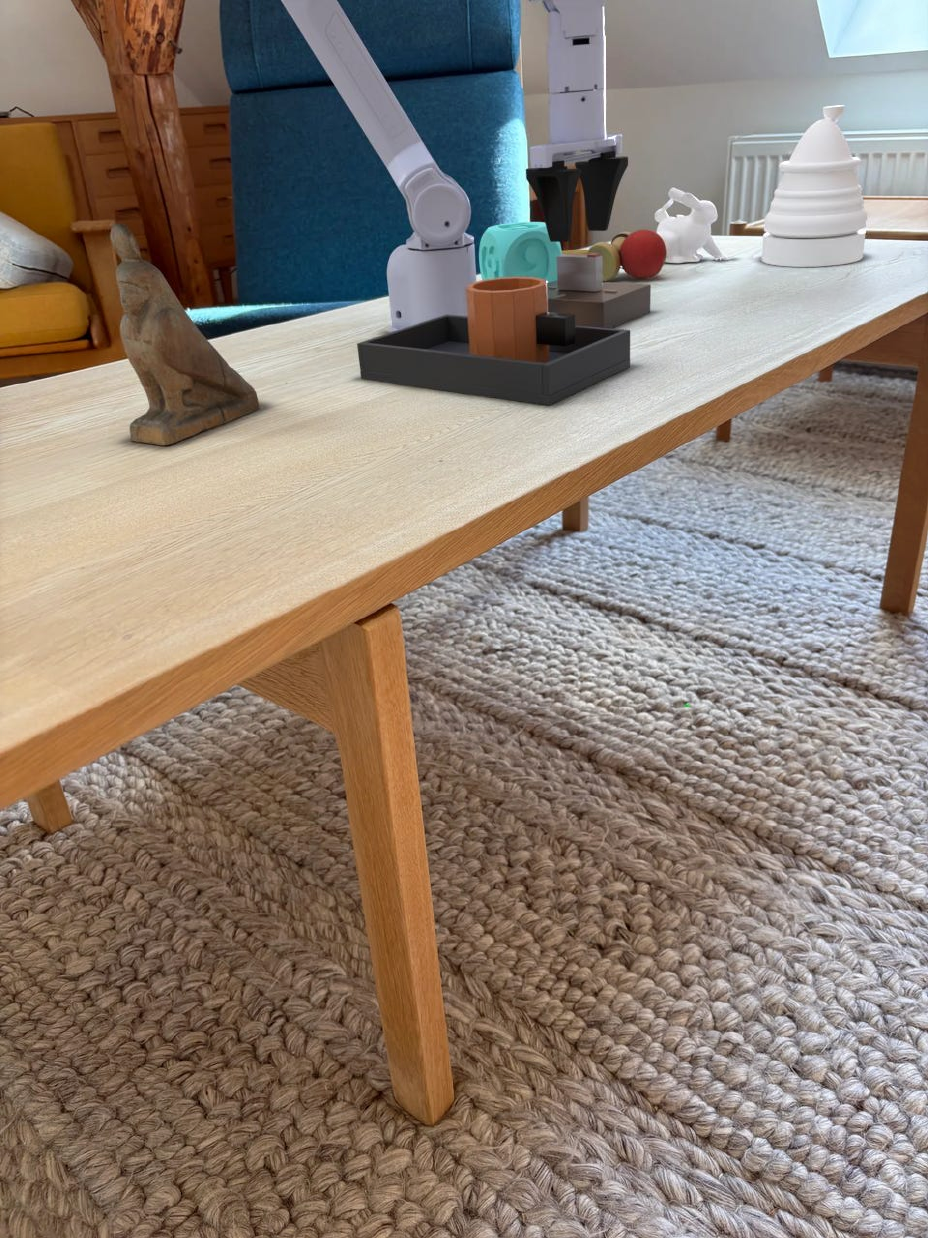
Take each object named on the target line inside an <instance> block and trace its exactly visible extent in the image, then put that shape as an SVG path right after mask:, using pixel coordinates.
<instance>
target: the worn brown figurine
mask: <svg viewBox="0 0 928 1238" xmlns="http://www.w3.org/2000/svg"><path fill="white" fill-rule="evenodd" d="M110 230H111V231H110V235H109V236H110V241H111V245H112V246H113V247H112V248H113V249H114V251H115V253H116V254H117V256H118V257H119V259H120V263H119V264H118V265H117V267H116V269H115V281H116V284H117V289H118V291H119V300H120V304H121V306H122V308H123V311H124V313H123V314H122V316H121V319H120V324H119V334H120V335H119V336H120V339H121V343H122V346H123V349H124V352H125V355H126V357H127V360H128V362H129V364H130V365H131V367H132V368H133V370H134V371H135V373H136V375H137V378H138V379H139V382H140V385H141V386H142V387H143V390H144V393H145V395H146V398H147V402H148V405H149V407H148V410H147V411H146V412H145V413H144V414H143V415H141V416H140V417H137V418H135V419H134V420H133V421H132V422H131V423H130V424H129V433H130V434H129V435H130V442H135V443H136V442H137V443H144V444H148V445H149V444H151V445H157V446H169V445H173V444H174V443H175V444H176V443H177V442H181V441H183V440H185V439H188V438H191V437H193V436H195V435H199V434H200V433H201V432H203V431H208V430H210V429H212V428H213V429H214V428H215V427H218V426H221V425H223V424H227V423H230V422H231V421H232V420H235V419H239V418H240V417H241V418H242V416H245V415H249V414H251V413H253V412H254V411H256V410H259V408H260V402H259V397H258V393H257V391H256V390H255V387H253V386H252V384H250V383H249V382H248V381H246V379H245V378H244V377H243V376H242V375H241V374H239V372H238V371H237V370H236V369H234V368H232V367H231V366H230V364H229V363H228V361H227V360H225V358H224V357H223V356H222V354H220V352H219V351H218V350H217V349H216V348H215V347H214V346H213V345H212V344H211V342H210V341H209V340H208V339H207V338H206V336H205V335H204V334H203V333H202V332H201V330H200V329H199V328H198V327H197V325H196V324H195V323H194V321H193V320H192V318H191V317H190V315H189V314H188V313H187V311H186V310H185V309H184V307H183V305H182V304H181V302H180V301H179V299H178V298H177V296H176V294H175V292H174V291H173V289H172V287H171V286H170V284H169V283H168V281H167V279H166V278H165V276H164V274H163V273H162V271H161V270H160V269H158V267H156V266H155V265H154V264H151V263H150V262H148V261H146V260H143V258H142V255H141V251H140V246H139V243H138V241H137V238H136V237H135V236H134V233H133V232H132V231H131V230H130V229H129V228H128V226H127V225H125V224H124V223H122V222H118V223H113V225H112V226H111V229H110Z"/></svg>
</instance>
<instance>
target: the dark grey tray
mask: <svg viewBox="0 0 928 1238" xmlns="http://www.w3.org/2000/svg"><path fill="white" fill-rule="evenodd" d="M356 348H357V354H358V356H357V357H358V364H359V370H360V371H359V372H360V379H361V380H368V381H375V382H380V383H388V384H395V385H396V384H397V385H402V386H410V387H417V388H423V389H430V390H438V391H445V392H453V393H458V394H459V393H460V394H465V395H474V396H481V397H486V398H493V399H494V398H495V399H501V400H508V401H509V400H510V401H516V402H523V403H530V404H536V405H545V406H551V405H554V404H556V403H557V402H560V401H562V400H564V399H565V398H568V397H570V396H572V395H574V394H576V393H579V392H580V391H583V390H585V389H587V388H589V387H591V386H593V385H595V384H597V383H599V382H602V381H603V380H606V379H608V378H609V377H612V376H614V375H616V374H618V373H620V372H623V371H624V370H626V369H628V368H630V367H631V330H630V329H623V328H600V327H588V326H576V325H575V343H573V344H571V345H568V346H566V347H563V346H553V345H549V362H548V363H542V362H533V361H525V360H516V359H507V358H498V357H489V356H480V355H471V354H470V347H469V331H468V316H458V315H443V316H440V317H437V318H434V319H431V320H428V321H425V322H422V323H419V324H416V325H413V326H409V327H406V328H403V329H400V330H397V331H394V332H391V333H390V332H387V333H385V334H382V335H379V336H376V337H373V338H370V339H366V340H363V341H360V342H358V343H356Z"/></svg>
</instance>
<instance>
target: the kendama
mask: <svg viewBox="0 0 928 1238" xmlns="http://www.w3.org/2000/svg"><path fill="white" fill-rule="evenodd" d="M656 232H657V231H655V230H651V229H642V228H641V229H637V230H635V231H632V232H630V231H621V232H619V233H617V234H615V235H614V237H613V238H612V239H611V241H610V243H609V242H607V241H598V242H597V243H595V244H593V245H591V246H590V247H589V249H568V250H567V249H566V250H561V251H562V255H563V254H569V255H588V254H591V253H600V256H603V282H609V281H610V280H612V279H614V278H615V277H616V276H618V274H619V272H620V270H623V271H624V272H625V273H626V274H627V275H628V276H629V277H631V278H633V279H638V280H645V279H652V278H654V277H656V276H657V275H658V274H659V273H660V272H661V271H662V269H663V267H664V266H665V263H666V262H665V260H666V254H667V252H666V245H665V242H664V240H663V239H662V237H661V236H660V235H659V234H657V233H656Z"/></svg>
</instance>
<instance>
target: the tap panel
mask: <svg viewBox="0 0 928 1238" xmlns="http://www.w3.org/2000/svg"><path fill="white" fill-rule="evenodd" d="M547 286H548V312H551V313H563V314H575V325H576V326H588V327H600V328H612V329H614V328H615V327H619V326H621V325H623V324H625V323H628V322H631V321H632V320H635V319H637V318H640V317H642V316H645V315H647V314H649V313H651V293H652V292H651V291H652V290H651V289H652V285H651V284H650V283H632V282H631V283H630V282H614V281H613V282H611V281H603V289H602V290H600V291H597V292H590V291H574V290H558V289H557V280H556V281H553V282H550V283H547Z"/></svg>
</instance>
